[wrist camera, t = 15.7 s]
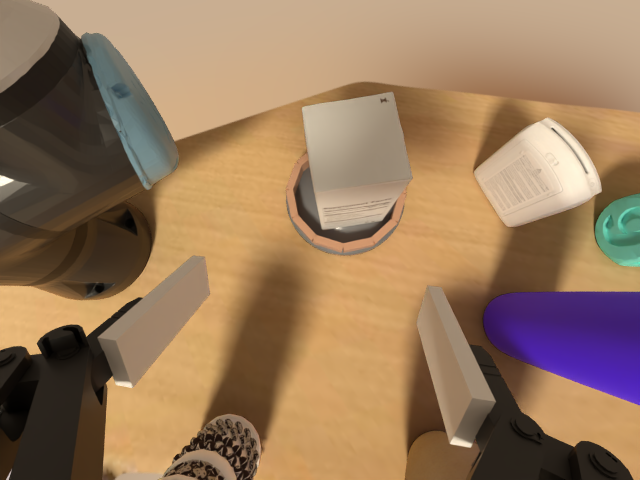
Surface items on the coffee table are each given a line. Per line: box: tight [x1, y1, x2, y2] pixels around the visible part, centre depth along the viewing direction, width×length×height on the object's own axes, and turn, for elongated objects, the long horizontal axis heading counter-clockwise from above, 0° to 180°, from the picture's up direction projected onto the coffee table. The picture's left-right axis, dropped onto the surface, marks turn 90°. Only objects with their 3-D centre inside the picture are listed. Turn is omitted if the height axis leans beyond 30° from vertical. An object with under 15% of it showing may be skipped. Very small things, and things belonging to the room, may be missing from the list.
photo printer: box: [474, 118, 602, 227], centre depth 32 cm, size 10×4×12 cm, turn 25°
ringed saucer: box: [286, 153, 407, 256], centre depth 38 cm, size 17×17×3 cm
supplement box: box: [302, 92, 412, 230], centre depth 31 cm, size 9×9×15 cm
